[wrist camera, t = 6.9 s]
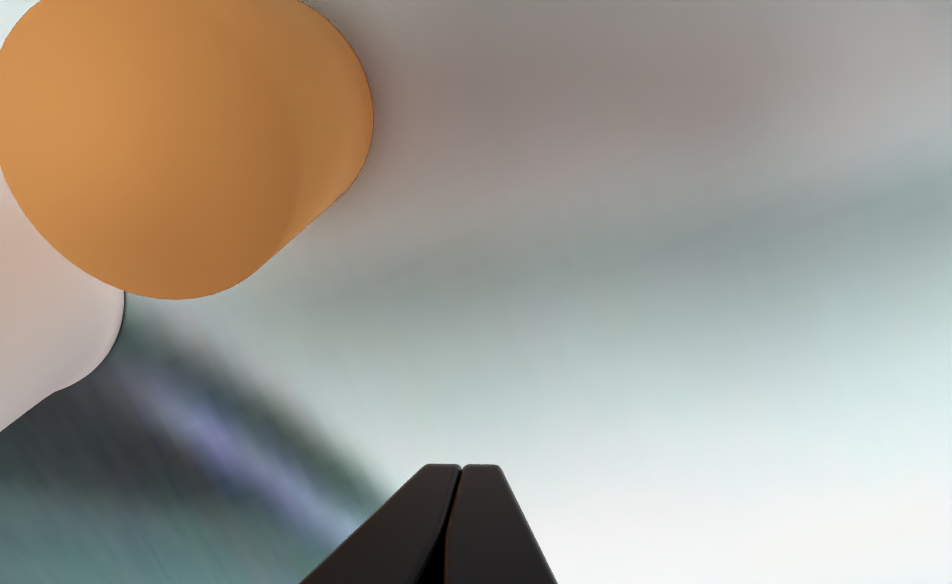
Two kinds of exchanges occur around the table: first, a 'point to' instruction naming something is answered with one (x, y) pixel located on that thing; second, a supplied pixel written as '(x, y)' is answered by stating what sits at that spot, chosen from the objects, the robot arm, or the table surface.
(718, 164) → the table surface
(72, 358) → the mug
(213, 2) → the orange short rounded piece
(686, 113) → the table surface
